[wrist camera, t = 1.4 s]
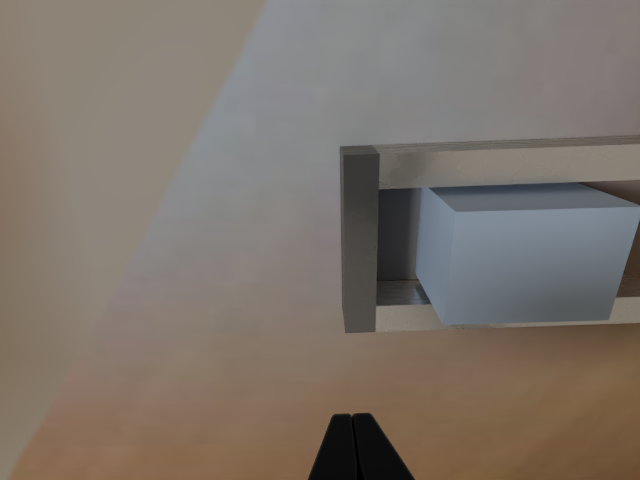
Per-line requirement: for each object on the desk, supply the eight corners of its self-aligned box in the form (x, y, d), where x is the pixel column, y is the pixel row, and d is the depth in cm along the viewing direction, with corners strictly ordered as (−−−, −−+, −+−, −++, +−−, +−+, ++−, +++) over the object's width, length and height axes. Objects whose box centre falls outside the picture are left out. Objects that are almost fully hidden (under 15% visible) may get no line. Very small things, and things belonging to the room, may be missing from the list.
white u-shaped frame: (667, 134, 18) (720, 141, 15) (618, 296, 21) (656, 322, 19) (339, 146, 18) (343, 155, 15) (342, 306, 21) (345, 332, 19)
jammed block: (562, 177, 19) (643, 206, 14) (542, 267, 20) (608, 320, 16) (420, 181, 19) (455, 212, 14) (414, 271, 20) (442, 324, 16)
